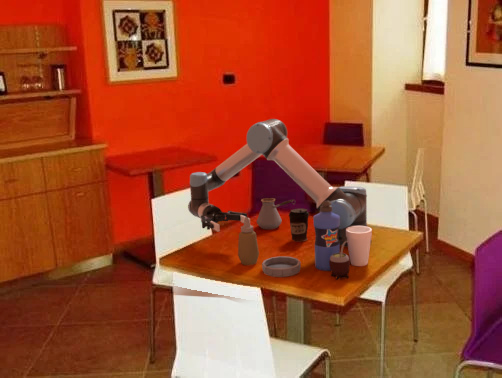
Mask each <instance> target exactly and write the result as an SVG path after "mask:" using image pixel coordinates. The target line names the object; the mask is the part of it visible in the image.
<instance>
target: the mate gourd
mask: <svg viewBox="0 0 502 378" xmlns="http://www.w3.org/2000/svg"><path fill="white" fill-rule="evenodd" d="M347 241H348V240H347ZM347 241H345V242H344V243H343V244H342V246H341V247H340V248H341V249H340V253H334V254H333V255H332V256H331V257H330V260H329V265H330V269H331V271H330V272H331V273H330V276H331V277H333V278H335V280H336V281H338V280H340V278H341V279H349V272H350V264H351V262H350V256H349V255H347V254H346V253H345V252H343V251H344V244H345V243H346V242H347Z"/></svg>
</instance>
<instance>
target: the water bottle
mask: <svg viewBox="0 0 502 378" xmlns="http://www.w3.org/2000/svg"><path fill="white" fill-rule="evenodd" d="M331 204H332V203H331V202H330V201H329V200H324V201H323V202H322V203H321V205H322V206H320V211H321V212H320V211H319V213H317V214H314V215H313V217H312V218H313V227H314V233H315V239H314V266H315V268H316V269H317V270H319V271H323V272H331V269H330V265H329V260H330V257H331V256H332V255H333V254H334V253H341V249H340V248H341V246H340V243H339V238H338V232H339V225H340V218H339V215H337V214H334V213H333V212H332V206H330V205H331Z"/></svg>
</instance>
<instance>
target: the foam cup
mask: <svg viewBox="0 0 502 378" xmlns="http://www.w3.org/2000/svg"><path fill="white" fill-rule="evenodd" d="M372 232H373V228H371V227H369V226H368V227H366V226H351V227H348V228H346V237H347V240H348V241H347V243H348V247H347V248H348V249H347V250H348V254H349V255H348V257H349V261H350V264H351V265H352V266H356V267H364V266H367V265H368V263H369V258H370V250H371V249H370V248H371V243H372V236H373V233H372ZM370 242H371V243H370Z"/></svg>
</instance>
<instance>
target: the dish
mask: <svg viewBox="0 0 502 378" xmlns="http://www.w3.org/2000/svg"><path fill="white" fill-rule="evenodd" d="M301 264H302V262H301V260H299V259H298V258H297V257H296V258H295V257H293V256H285V255H284V256H273V257H270V258H267V259H264V260H263V262H262V263H261V269H262V273H263V274H264V275H267V276H269V277H273V278H286V277H292V276H295V275H297V274H299V273H300V271H301V268H302V265H301Z"/></svg>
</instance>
